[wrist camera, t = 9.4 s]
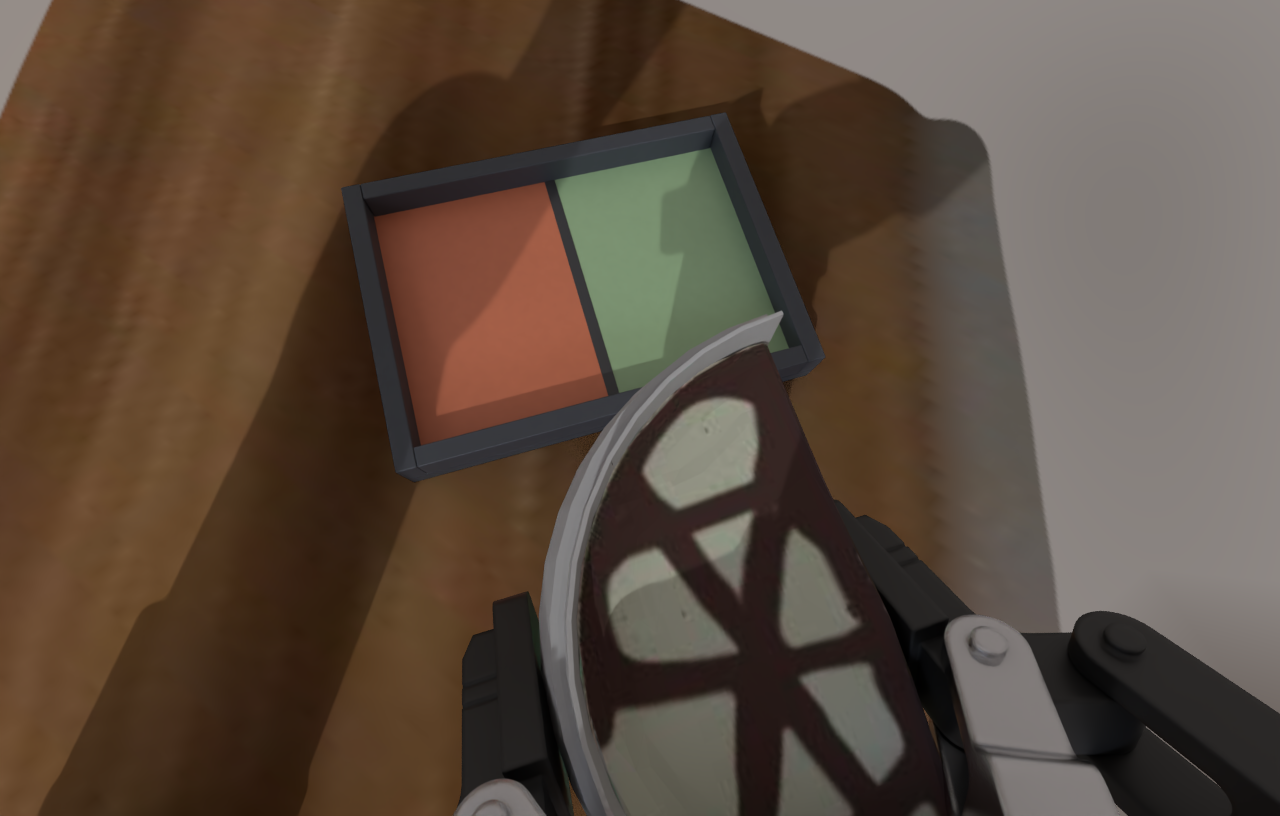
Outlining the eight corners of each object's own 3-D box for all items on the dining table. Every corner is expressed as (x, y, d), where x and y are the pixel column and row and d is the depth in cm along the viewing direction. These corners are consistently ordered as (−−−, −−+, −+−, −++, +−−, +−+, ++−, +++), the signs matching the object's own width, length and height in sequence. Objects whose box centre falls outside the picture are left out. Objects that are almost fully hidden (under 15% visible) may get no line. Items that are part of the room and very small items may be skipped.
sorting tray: (413, 482, 30) (395, 473, 27) (360, 218, 34) (340, 187, 31) (807, 375, 33) (826, 357, 30) (716, 145, 37) (726, 111, 34)
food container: (515, 477, 19) (442, 375, 10) (687, 424, 20) (771, 285, 11) (631, 892, 16) (687, 1327, 7) (827, 805, 17) (1115, 1077, 8)
